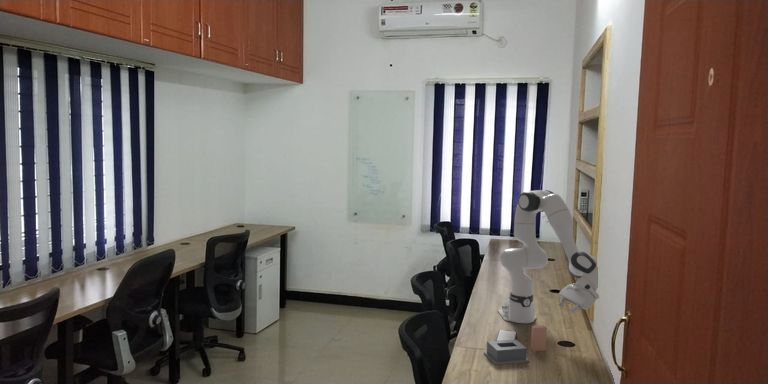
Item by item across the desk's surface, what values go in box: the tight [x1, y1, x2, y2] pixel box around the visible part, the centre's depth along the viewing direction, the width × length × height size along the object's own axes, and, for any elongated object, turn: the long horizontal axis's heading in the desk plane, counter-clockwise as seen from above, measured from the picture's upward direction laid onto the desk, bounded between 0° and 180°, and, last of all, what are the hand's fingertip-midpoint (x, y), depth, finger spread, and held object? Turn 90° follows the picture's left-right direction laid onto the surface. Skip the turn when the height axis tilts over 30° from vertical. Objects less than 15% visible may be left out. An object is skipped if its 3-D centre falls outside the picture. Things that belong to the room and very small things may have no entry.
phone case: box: [495, 329, 518, 341], centre depth 260 cm, size 9×2×16 cm
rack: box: [483, 338, 530, 366], centre depth 236 cm, size 12×16×6 cm
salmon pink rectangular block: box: [530, 324, 548, 352], centre depth 246 cm, size 3×6×11 cm, turn 103°
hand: (565, 309), depth 248 cm, fingers open, 8 cm apart
